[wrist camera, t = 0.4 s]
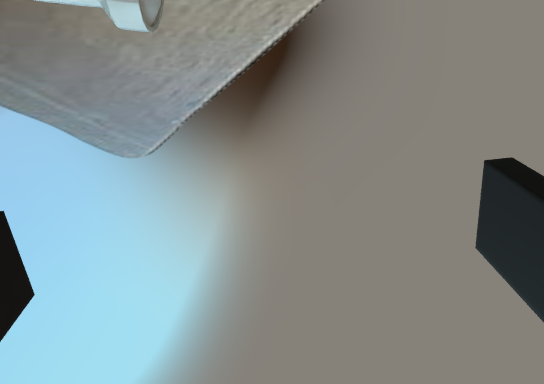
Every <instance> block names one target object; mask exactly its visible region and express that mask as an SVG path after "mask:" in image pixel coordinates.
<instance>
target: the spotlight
mask: <svg viewBox="0 0 544 384" xmlns="http://www.w3.org/2000/svg"><path fill="white" fill-rule="evenodd" d="M35 1H43V2H52V3H62V4H71V5H81V6H91V7H100V8H103V9H104V10H105V12H106V13H107V14H108V15H109V17H110V18H111V19H112V21H113V22H114V23H115V24H116V26H117V27H119V28H121V29H124V30H133V31H142V32H152V33H153V32H154V31H155V30H156V29H157V28H158V25H159V22H160V20H161V16H162V10H163V4H164V0H35Z"/></svg>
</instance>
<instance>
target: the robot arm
mask: <svg viewBox="0 0 544 384" xmlns="http://www.w3.org/2000/svg"><path fill="white" fill-rule="evenodd" d="M476 249H477V250H478V251H479V252H480V253H481V254H482V255H483V256H484V258H485V259H486V260H487V261H488V262H489V263H490V264H491V265H492V266H493V267H494V268H495V270H496V271H497V272H498V273H499V274H500V275H501V276H502V277H503V278H504V279H505V280H506V281H507V283H508V284H509V285H510V286H511V287H512V288H513V289H514V290H515V291H516V293H517V294H519V296H520V297H521V298H522V299H523V300H524V301H525V302H526V303H527V305H528V306H529V307H530V308H531V309H532V310H533V311H534V312H535V313H536V314H537V315H538V317H539V318H540V319H541V320H542V321H543V322H544V176H542V175H541V174H539V173H537V172H536V171H534V170H532V169H531V168H529V167H527V166H526V165H524V164H522V163H521V162H519V161H517V160H516V159H514V158H502V159H493V160H485V161H484V169H483V179H482V189H481V200H480V209H479V219H478V229H477V239H476ZM33 296H34V292H33V289H32V287H31V284H30V281H29V278H28V275H27V273H26V270H25V267H24V265H23V262H22V259H21V257H20V254H19V251H18V249H17V246H16V244H15V240H14V238H13V235H12V232H11V230H10V227H9V224H8V222H7V219H6V216H5V213H4V211H0V341H1V340H2V339H3V337H4V336H5V335H6V333H7V331H8V330H9V329H10V328H11V326H12V325H13V323H14V322H15V321H16V320H17V318H18V317H19V315H20V314H21V313H22V311H23V310H24V308H25V307H26V306H27V304H28V303H29V302H30V300H31V299H32V298H33Z"/></svg>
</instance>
